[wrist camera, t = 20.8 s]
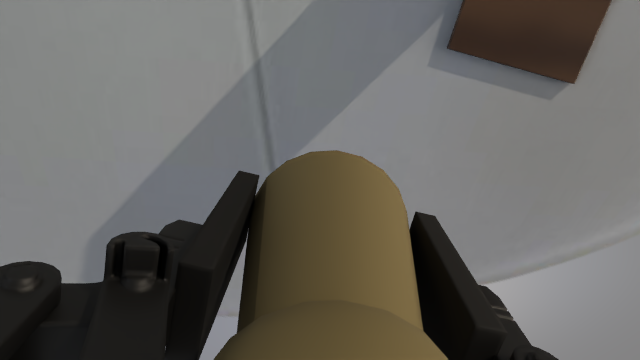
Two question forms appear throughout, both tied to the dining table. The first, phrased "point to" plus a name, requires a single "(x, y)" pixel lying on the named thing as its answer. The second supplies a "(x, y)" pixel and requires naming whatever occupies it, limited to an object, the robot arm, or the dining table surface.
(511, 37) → the strip
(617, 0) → the dining table surface
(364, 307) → the wooden peg doll
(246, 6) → the dining table surface
